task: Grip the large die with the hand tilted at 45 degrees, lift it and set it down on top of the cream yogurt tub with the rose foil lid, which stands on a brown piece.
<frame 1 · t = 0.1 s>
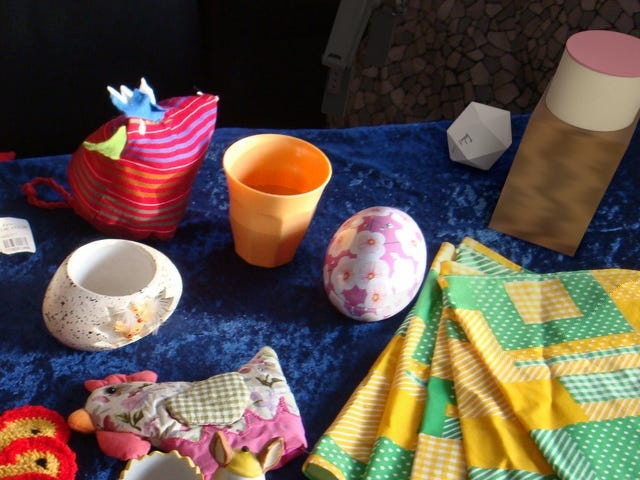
hand: (354, 88, 102), 17 cm above the table, tool pointing down, fingers open, 13 cm apart
yogurt: (589, 108, 99), resting on brown piece
die: (470, 161, 121), on the table
brown piece: (539, 221, 112), on the table
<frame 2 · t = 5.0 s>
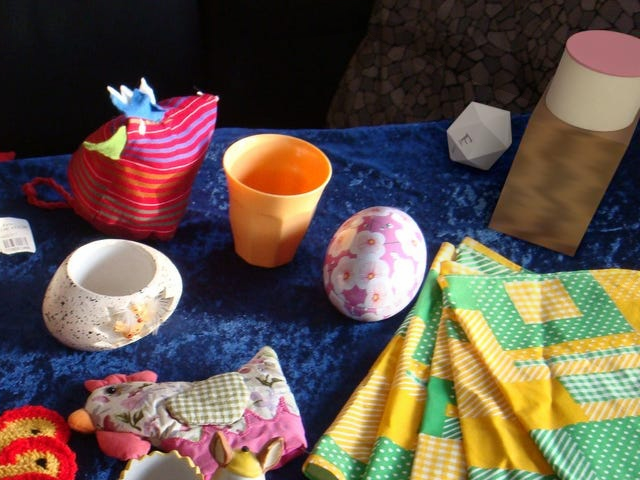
nothing on the table moved.
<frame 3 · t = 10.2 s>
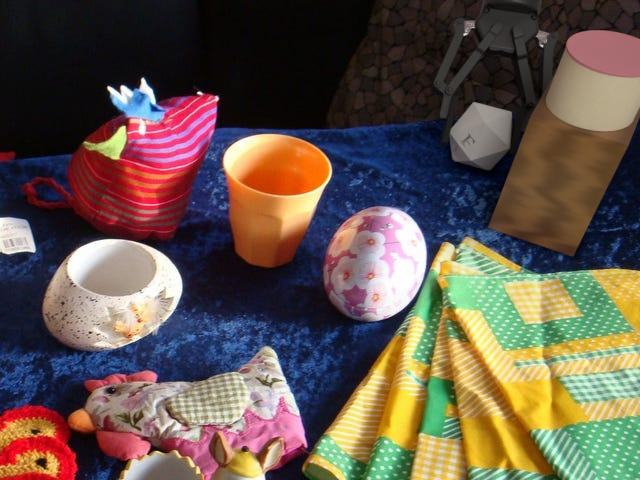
hand: (476, 150, 116), 4 cm above the table, tool tilted 45°, fingers closed on die, 8 cm apart
die: (472, 162, 121), on the table, touching gripper
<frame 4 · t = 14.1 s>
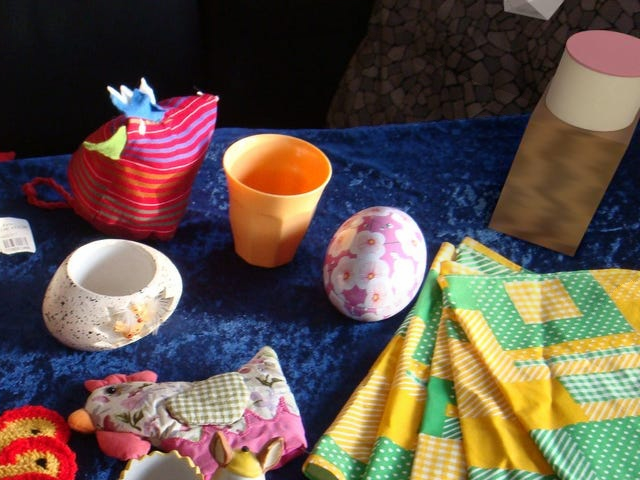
die: (528, 12, 104), point 22 cm above the table, touching gripper
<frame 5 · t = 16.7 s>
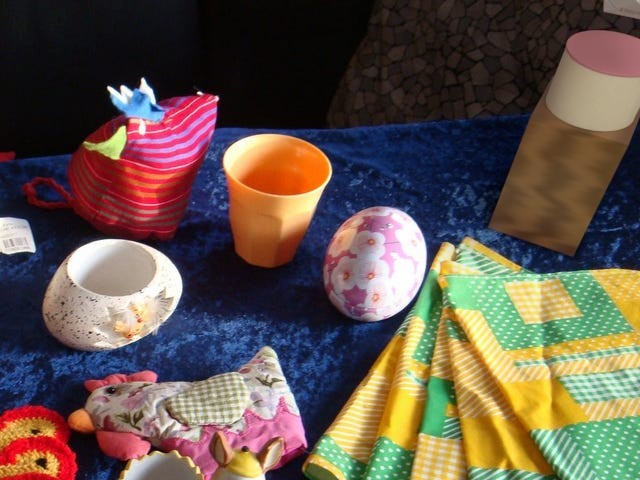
die: (630, 13, 91), point 28 cm above the table, touching gripper
when the fingers open (28 cm above the table, at t = 18.5 s): die stays where it is, resting on yogurt.
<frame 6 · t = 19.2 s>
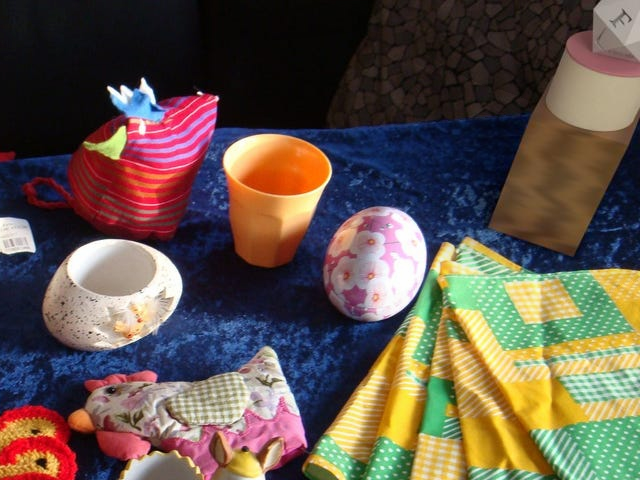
hand: (637, 14, 88), 29 cm above the table, tool tilted 45°, fingers open, 13 cm apart
die: (618, 54, 94), point 24 cm above the table, touching yogurt
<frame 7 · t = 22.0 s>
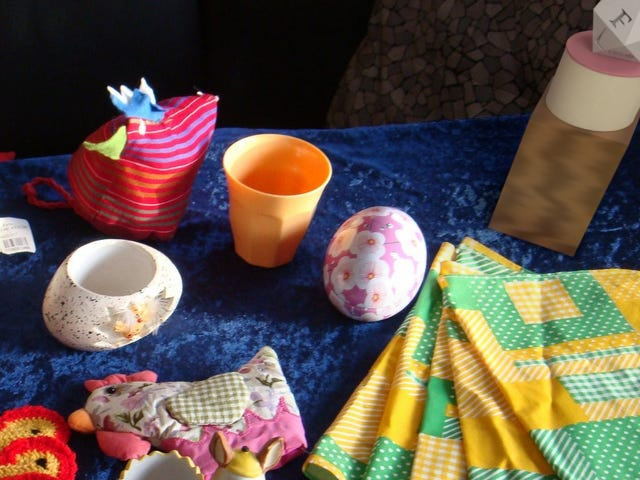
nothing on the table moved.
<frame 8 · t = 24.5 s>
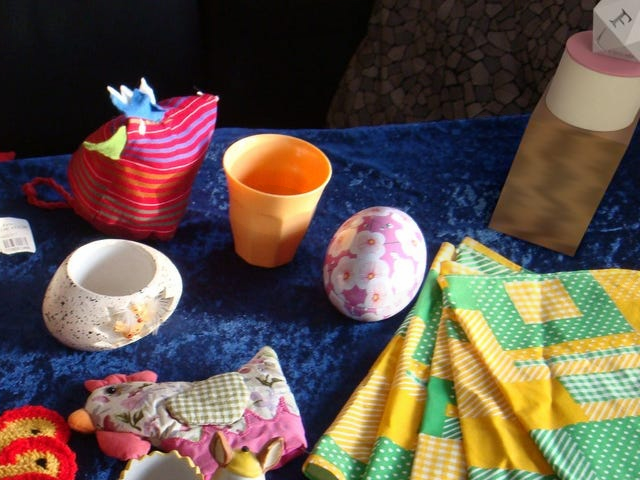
nothing on the table moved.
at the end: die 0.5 cm off-centre on the yogurt, point 6.9 cm above the yogurt's base; die tilted 1°; the gripper is holding nothing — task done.
